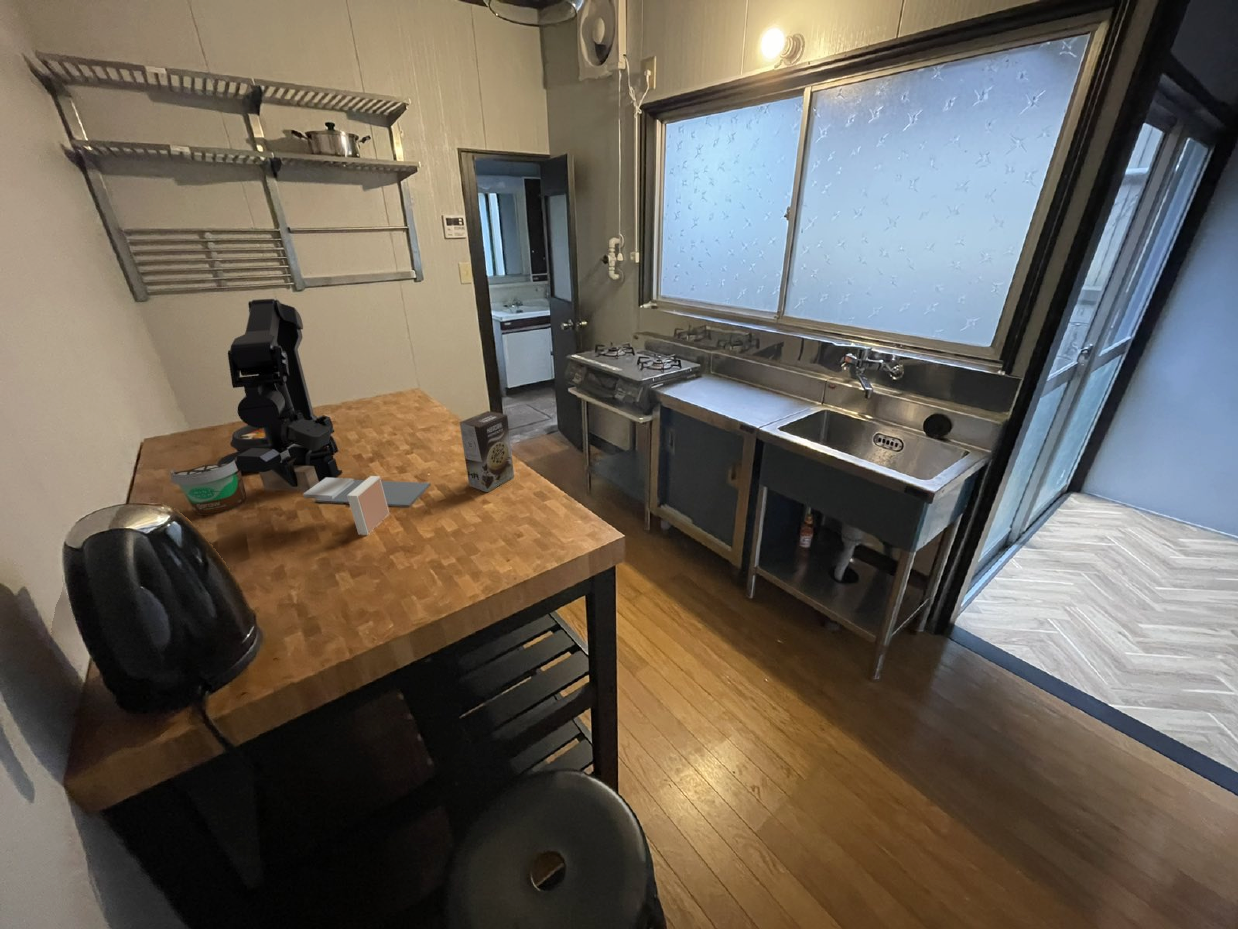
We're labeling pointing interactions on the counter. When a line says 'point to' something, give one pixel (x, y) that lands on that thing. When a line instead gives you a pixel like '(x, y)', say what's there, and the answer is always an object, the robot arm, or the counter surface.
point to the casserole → (245, 442)
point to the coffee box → (487, 450)
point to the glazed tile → (368, 505)
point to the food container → (212, 487)
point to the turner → (306, 483)
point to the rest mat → (387, 493)
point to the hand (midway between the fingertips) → (300, 483)
